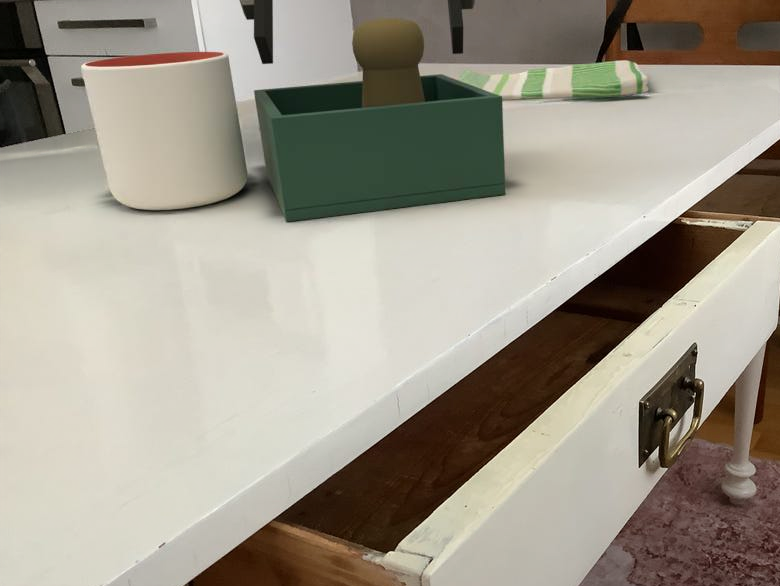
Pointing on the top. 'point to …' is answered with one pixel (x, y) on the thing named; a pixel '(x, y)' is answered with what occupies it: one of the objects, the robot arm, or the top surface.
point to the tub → (379, 147)
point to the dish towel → (564, 81)
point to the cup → (167, 128)
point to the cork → (389, 61)
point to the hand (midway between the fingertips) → (361, 46)
